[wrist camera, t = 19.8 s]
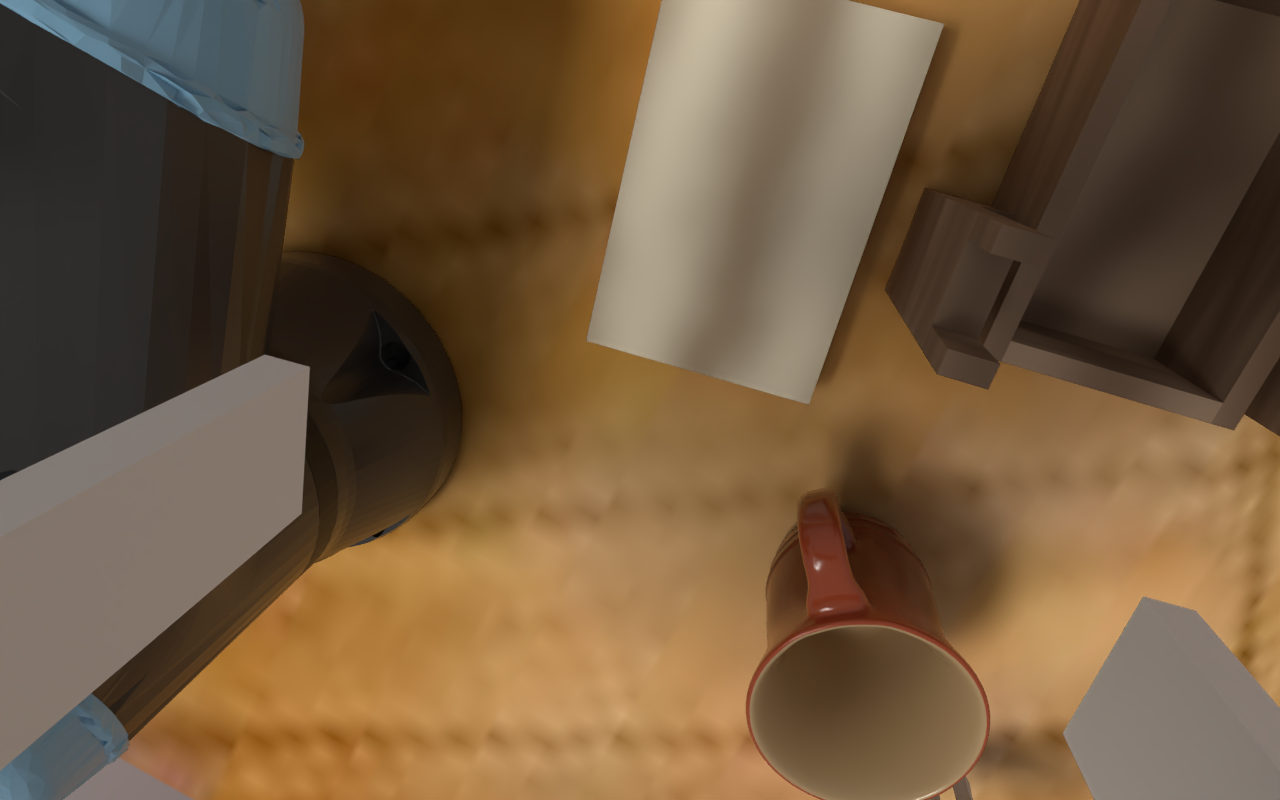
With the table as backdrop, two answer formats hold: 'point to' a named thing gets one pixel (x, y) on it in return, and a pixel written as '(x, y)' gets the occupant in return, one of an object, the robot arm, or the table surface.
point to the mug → (860, 667)
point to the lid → (756, 183)
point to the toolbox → (1124, 221)
